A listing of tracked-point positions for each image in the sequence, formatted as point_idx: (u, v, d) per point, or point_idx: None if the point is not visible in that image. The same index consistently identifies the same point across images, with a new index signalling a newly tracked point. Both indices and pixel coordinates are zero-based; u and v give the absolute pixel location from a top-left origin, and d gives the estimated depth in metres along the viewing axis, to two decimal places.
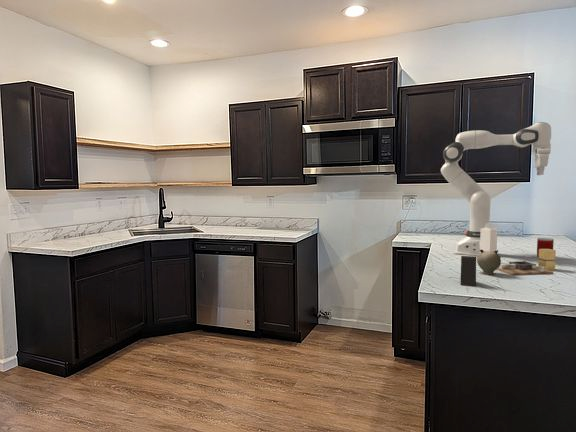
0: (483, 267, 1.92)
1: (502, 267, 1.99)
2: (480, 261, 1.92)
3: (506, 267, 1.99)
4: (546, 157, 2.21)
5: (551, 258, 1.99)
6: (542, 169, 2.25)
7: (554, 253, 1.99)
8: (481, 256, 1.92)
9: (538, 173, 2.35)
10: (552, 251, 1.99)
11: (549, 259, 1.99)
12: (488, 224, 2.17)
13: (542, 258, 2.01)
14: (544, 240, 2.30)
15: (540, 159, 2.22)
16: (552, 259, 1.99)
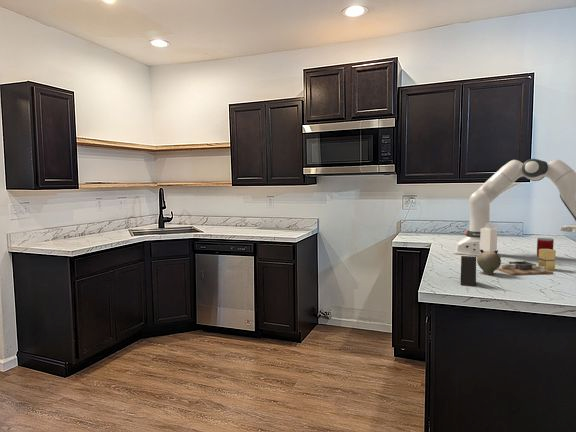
0: (483, 267, 1.92)
1: (502, 267, 1.99)
2: (480, 261, 1.92)
3: (506, 267, 1.99)
4: None
5: (551, 258, 1.99)
6: None
7: (554, 253, 1.99)
8: (481, 256, 1.92)
9: (564, 228, 2.06)
10: (552, 251, 1.99)
11: (549, 259, 1.99)
12: (488, 224, 2.17)
13: (542, 258, 2.01)
14: (544, 240, 2.30)
15: None
16: (552, 259, 1.99)
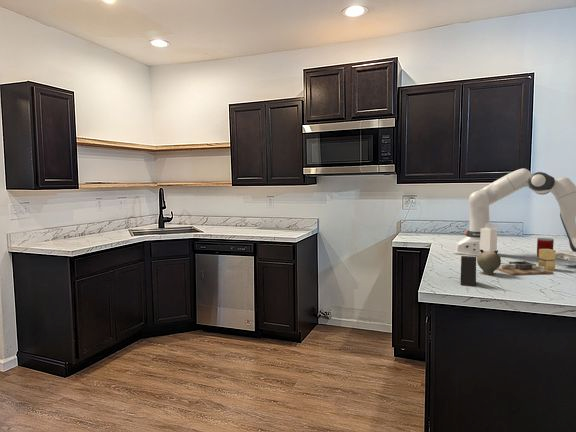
0: (483, 267, 1.92)
1: (502, 267, 1.99)
2: (480, 261, 1.92)
3: (506, 267, 1.99)
4: None
5: (551, 258, 1.99)
6: (575, 259, 1.97)
7: (554, 253, 1.99)
8: (481, 256, 1.92)
9: (556, 255, 2.07)
10: (552, 251, 1.99)
11: (549, 259, 1.99)
12: (488, 224, 2.17)
13: (542, 258, 2.01)
14: (544, 240, 2.30)
15: None
16: (552, 259, 1.99)
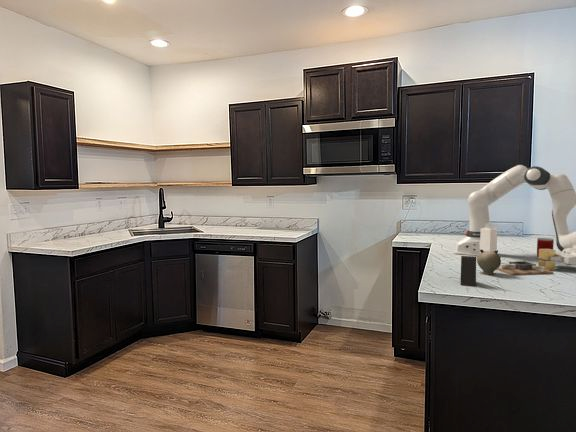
0: (483, 267, 1.92)
1: (502, 267, 1.99)
2: (480, 261, 1.92)
3: (506, 267, 1.99)
4: None
5: None
6: (558, 259, 1.97)
7: (554, 253, 1.99)
8: (481, 256, 1.92)
9: None
10: (552, 251, 1.99)
11: None
12: (488, 224, 2.17)
13: (542, 258, 2.01)
14: (544, 240, 2.30)
15: None
16: None
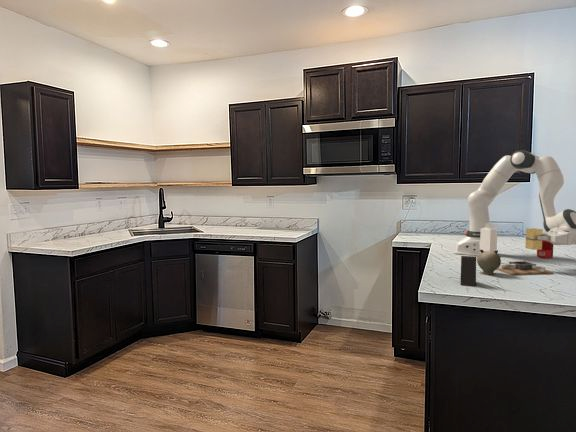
0: (483, 267, 1.92)
1: (502, 267, 1.99)
2: (480, 261, 1.92)
3: (506, 267, 1.99)
4: (564, 241, 1.92)
5: None
6: (544, 238, 1.96)
7: (541, 232, 1.98)
8: (481, 256, 1.92)
9: None
10: (539, 230, 1.98)
11: None
12: (488, 224, 2.17)
13: (529, 237, 2.00)
14: None
15: (563, 235, 1.91)
16: None
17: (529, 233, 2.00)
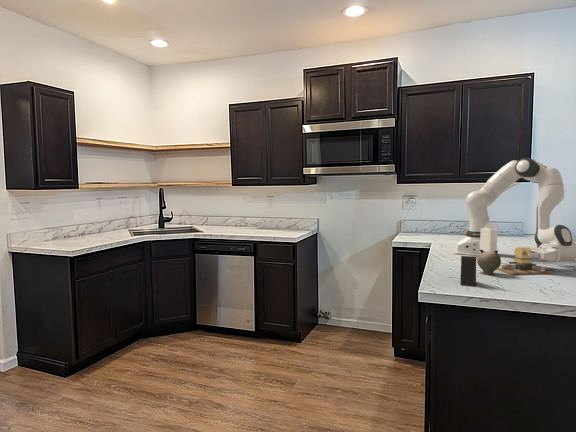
0: (483, 267, 1.92)
1: (502, 267, 1.99)
2: (480, 261, 1.92)
3: (506, 267, 1.99)
4: (553, 258, 1.92)
5: (527, 257, 1.98)
6: (535, 255, 1.94)
7: (530, 252, 1.98)
8: (481, 256, 1.92)
9: None
10: (528, 250, 1.98)
11: (525, 258, 1.98)
12: (488, 224, 2.17)
13: (518, 257, 2.00)
14: None
15: (551, 253, 1.91)
16: (528, 258, 1.98)
17: (518, 252, 2.00)
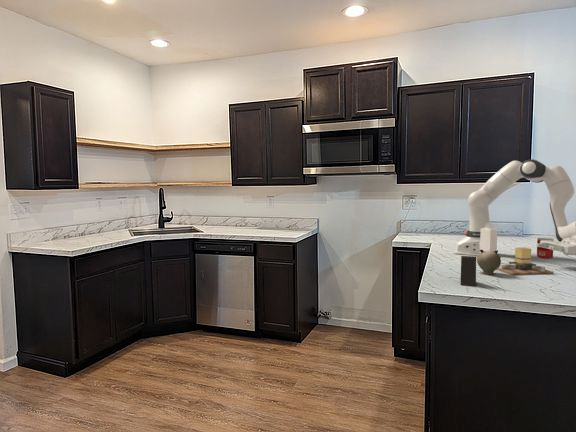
0: (483, 267, 1.92)
1: (502, 267, 1.99)
2: (480, 261, 1.92)
3: (506, 267, 1.99)
4: None
5: (527, 257, 1.98)
6: (559, 249, 1.96)
7: (530, 252, 1.98)
8: (481, 256, 1.92)
9: (540, 245, 2.06)
10: (528, 250, 1.98)
11: (525, 258, 1.98)
12: (488, 224, 2.17)
13: (518, 257, 2.00)
14: None
15: None
16: (528, 258, 1.98)
17: (518, 252, 2.00)
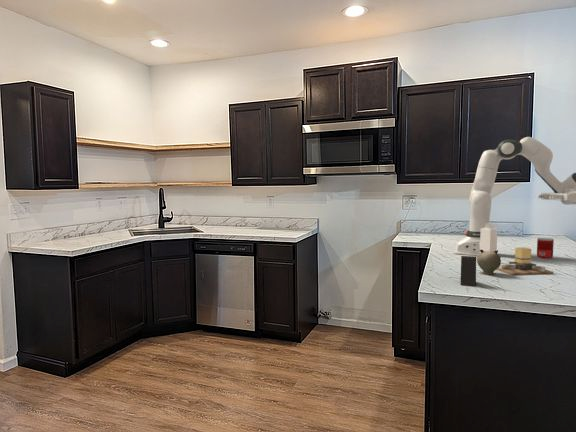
0: (483, 267, 1.92)
1: (502, 267, 1.99)
2: (480, 261, 1.92)
3: (506, 267, 1.99)
4: None
5: (527, 257, 1.98)
6: (559, 197, 2.09)
7: (530, 252, 1.98)
8: (481, 256, 1.92)
9: (541, 196, 2.19)
10: (528, 250, 1.98)
11: (525, 258, 1.98)
12: (488, 224, 2.17)
13: (518, 257, 2.00)
14: (544, 240, 2.30)
15: (574, 194, 2.06)
16: (528, 258, 1.98)
17: (518, 252, 2.00)
